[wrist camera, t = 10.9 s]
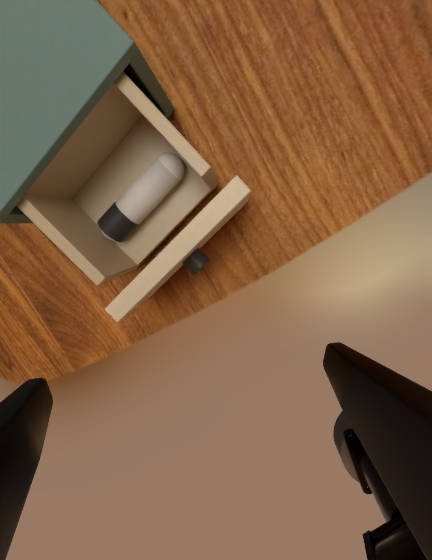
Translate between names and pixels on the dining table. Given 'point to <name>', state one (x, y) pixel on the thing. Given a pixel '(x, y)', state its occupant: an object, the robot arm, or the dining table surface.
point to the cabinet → (56, 83)
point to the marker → (142, 197)
